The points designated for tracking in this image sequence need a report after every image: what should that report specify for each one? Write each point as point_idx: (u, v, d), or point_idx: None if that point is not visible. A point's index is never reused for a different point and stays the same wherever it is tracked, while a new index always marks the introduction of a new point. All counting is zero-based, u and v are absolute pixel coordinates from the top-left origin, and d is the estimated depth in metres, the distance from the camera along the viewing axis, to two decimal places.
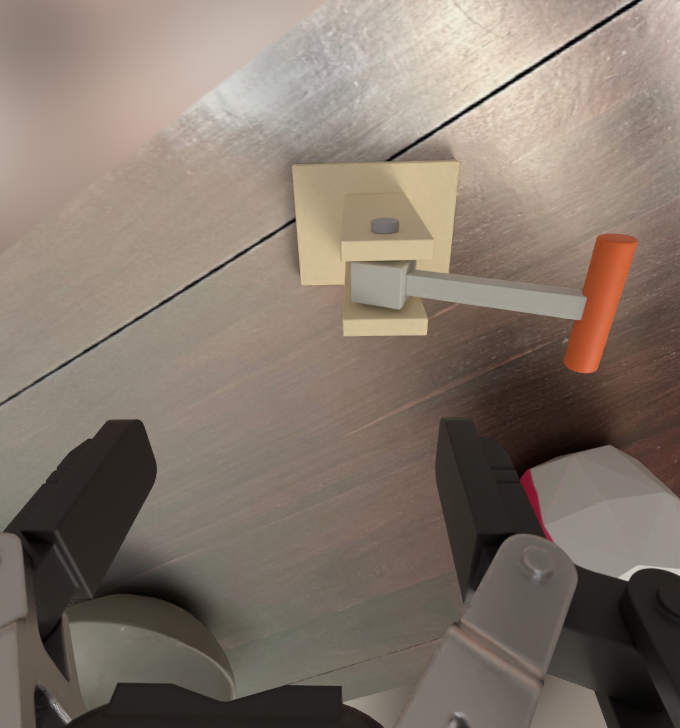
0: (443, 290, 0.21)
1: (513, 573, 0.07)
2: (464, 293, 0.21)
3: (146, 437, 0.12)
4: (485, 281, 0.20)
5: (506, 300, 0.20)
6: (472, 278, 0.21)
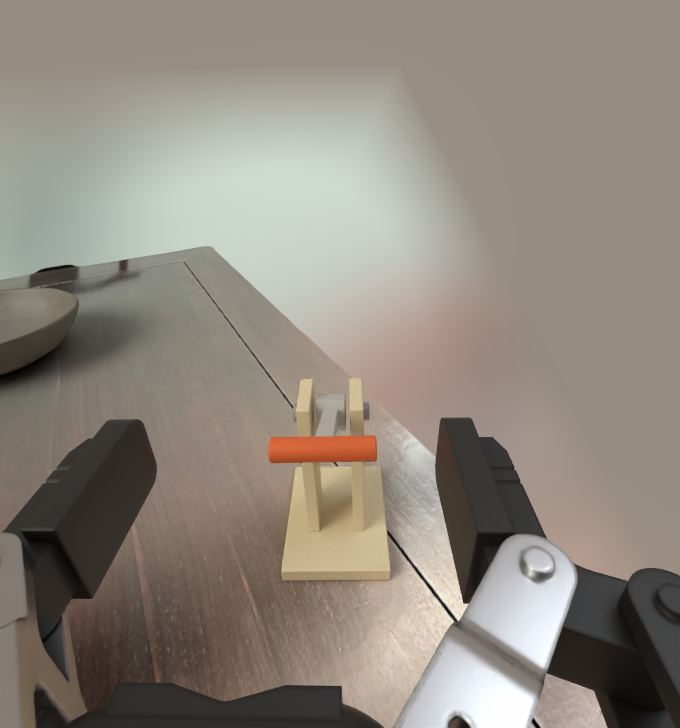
0: (328, 414, 0.31)
1: (513, 573, 0.07)
2: (328, 418, 0.30)
3: (146, 437, 0.12)
4: None
5: (325, 424, 0.28)
6: (336, 426, 0.30)
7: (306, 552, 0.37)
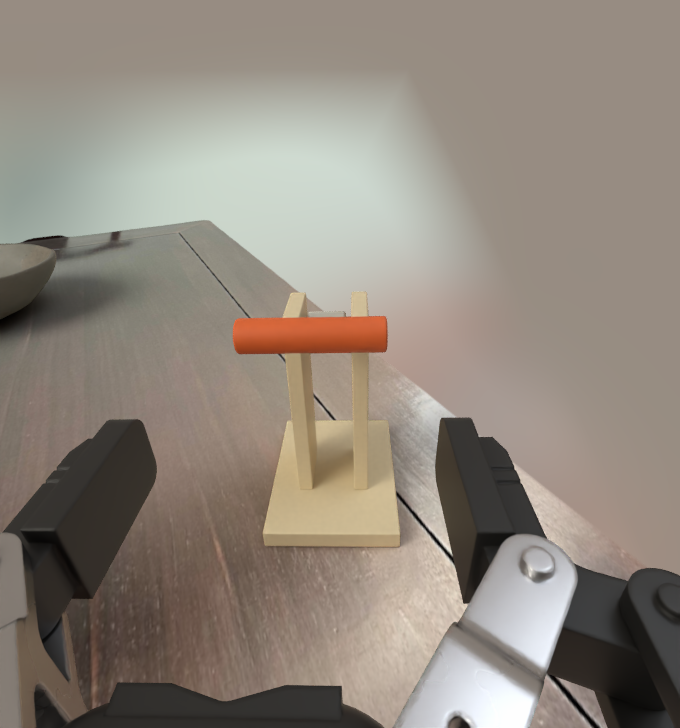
0: None
1: (513, 573, 0.07)
2: None
3: (146, 437, 0.12)
4: None
5: None
6: None
7: (295, 512, 0.29)
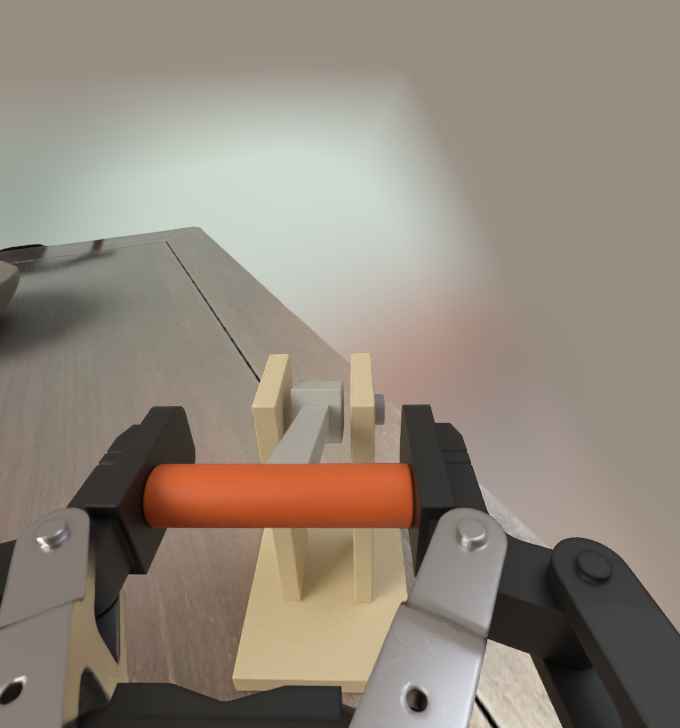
0: (311, 414, 0.17)
1: (451, 546, 0.07)
2: (307, 420, 0.16)
3: (187, 424, 0.12)
4: (322, 436, 0.15)
5: (299, 433, 0.14)
6: (323, 437, 0.15)
7: (277, 641, 0.22)
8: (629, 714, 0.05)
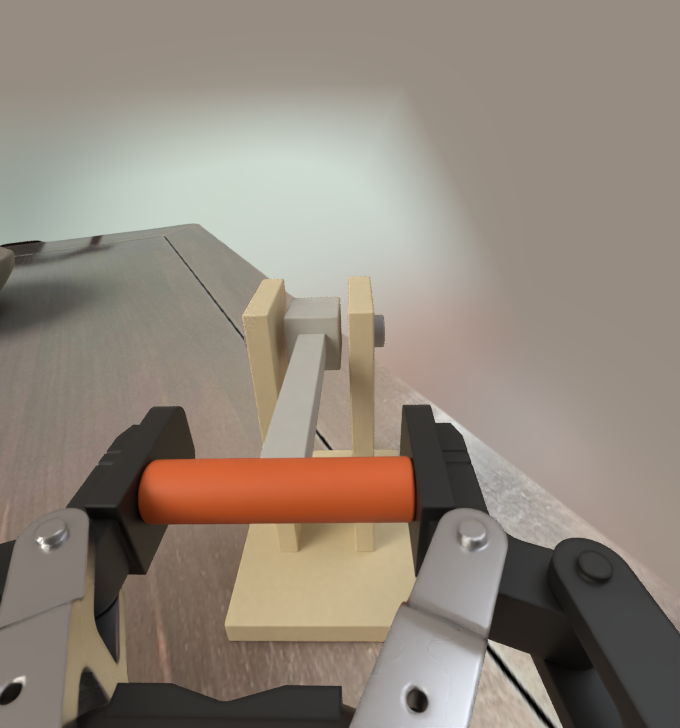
0: (306, 352, 0.16)
1: (452, 546, 0.07)
2: (303, 364, 0.15)
3: (187, 424, 0.12)
4: (319, 385, 0.14)
5: (294, 392, 0.13)
6: (320, 382, 0.15)
7: (272, 589, 0.21)
8: (630, 714, 0.05)
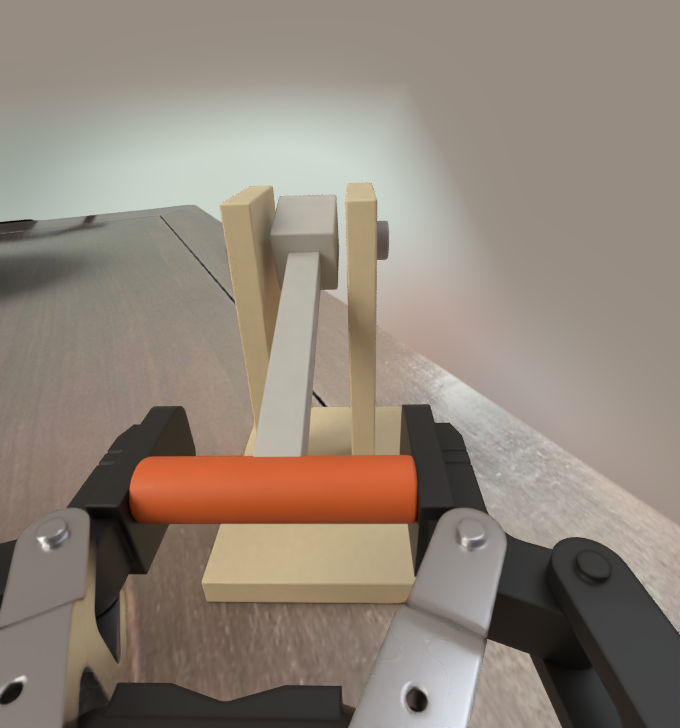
0: (299, 285, 0.14)
1: (451, 546, 0.07)
2: (295, 306, 0.13)
3: (187, 424, 0.12)
4: (314, 334, 0.13)
5: (287, 352, 0.12)
6: (315, 324, 0.13)
7: (258, 545, 0.18)
8: (629, 714, 0.05)
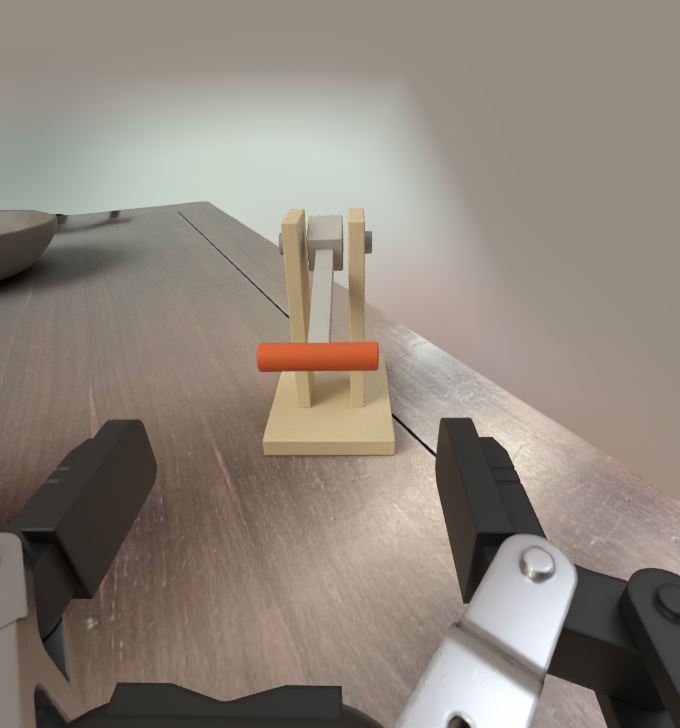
0: (323, 268, 0.26)
1: (513, 573, 0.07)
2: (322, 278, 0.25)
3: (146, 437, 0.12)
4: None
5: (319, 300, 0.24)
6: (332, 288, 0.25)
7: (294, 425, 0.30)
8: None
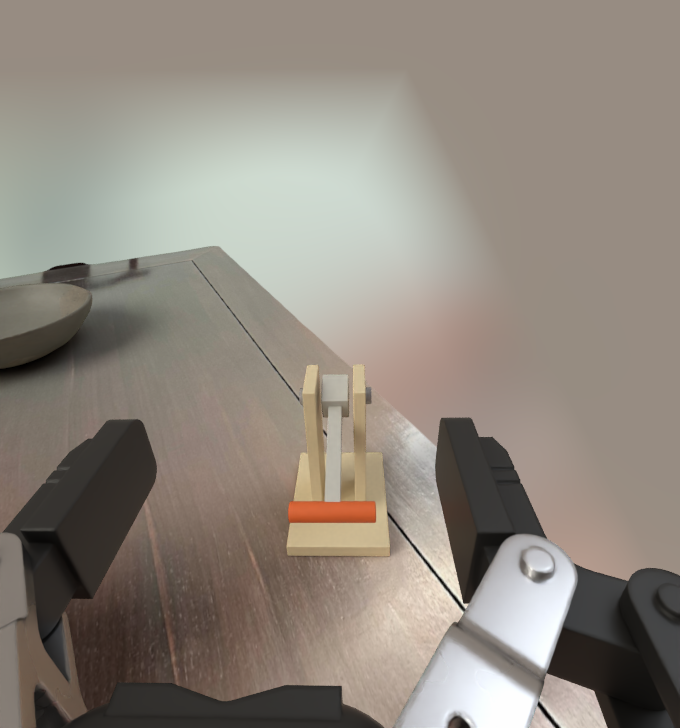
0: (334, 426, 0.34)
1: (513, 573, 0.07)
2: (333, 437, 0.33)
3: (146, 437, 0.12)
4: (341, 449, 0.33)
5: (332, 460, 0.32)
6: (341, 443, 0.33)
7: (310, 530, 0.39)
8: None
